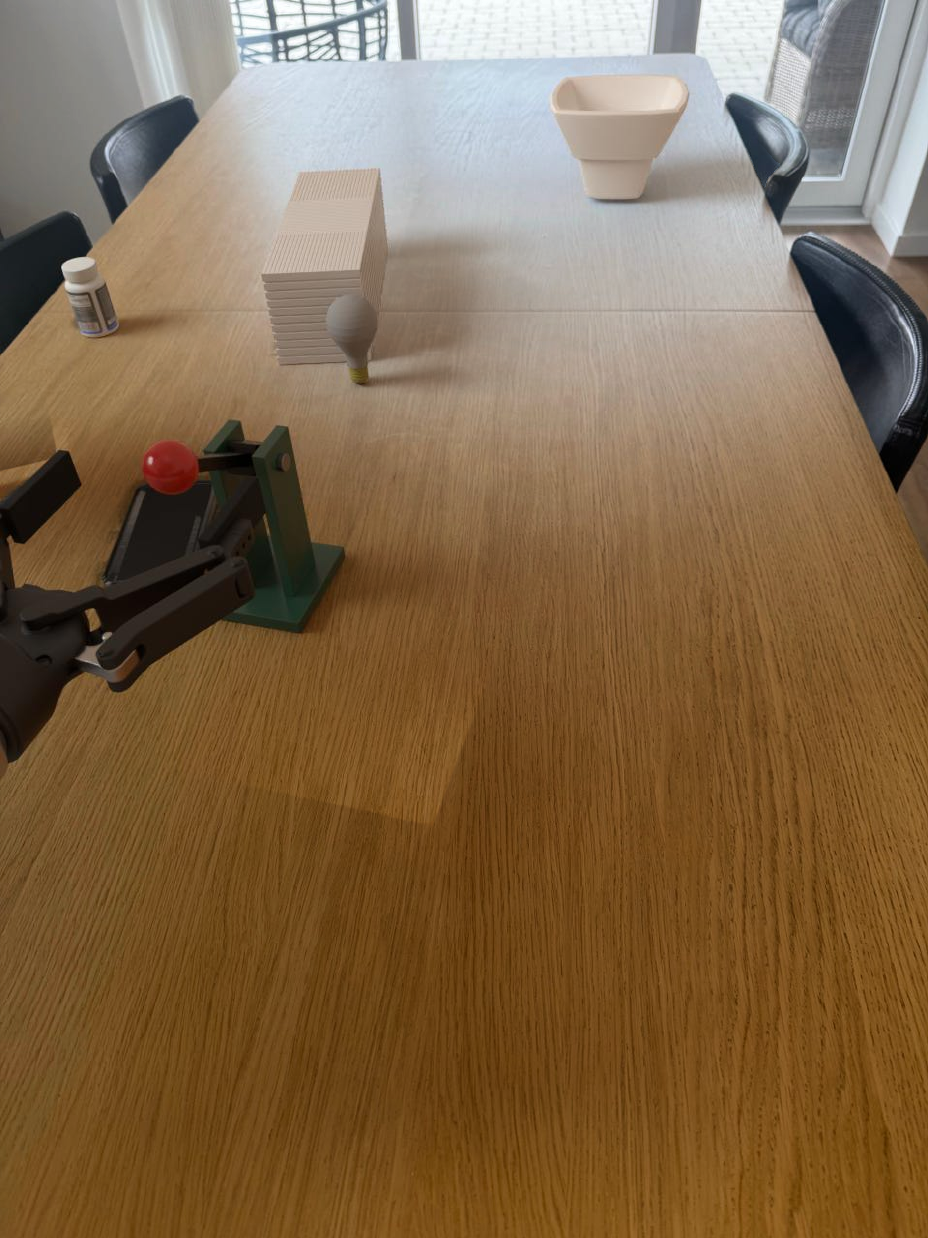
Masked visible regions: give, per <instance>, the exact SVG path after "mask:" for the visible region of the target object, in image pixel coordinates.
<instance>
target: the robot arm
mask: <svg viewBox="0 0 928 1238" xmlns="http://www.w3.org/2000/svg"><path fill="white" fill-rule="evenodd" d="M81 487H83V483H82V481H81V477H80V476H79V473H78V471H77V467H76V466H75V463H74V460H73V457H72V454H71V452H70V450H64V449H58V450H57V451H56V452H55V453H54V454H53V455H52V456H51V457H49V459H47V460H46V461H45V462H44V463H43V465H41V466H40V467H39V468H38V469H37V470H36V471H35V472H34V473H33V474H32V475H31V476H29V477H28V479H27V480H25V481H24V482H23V483H22V484H21V485H18V486H16V487H14V488H12V489H11V490H10V491H8V493H7V494H6V495H5V496H3V498H1V499H0V782H1V781H2V780H3V779H4V778H5V776H7V775H6V774H7V771H8V768H9V764H12V763H15V762H16V761H17V760H19V759H20V758H21V757H22V755H23V754H24V753H25V752H26V750H27V749H28V748H29V746H30V745H31V744H32V743H33V742H34V740H35V739H36V737H38V735H39V734H40V733H41V731H42V730H43V729H44V727H45V726H46V725H47V724H48V722H49V721H50V720H51V718H52V717H53V716H54V714H55V712H56V710H57V709H56V708H57V706H58V703H59V700H60V697H61V694H62V691H63V689H64V688H65V686H66V685H68V684H69V683H70V682H71V681H73V680H74V679H76V678H78V677H79V676H81V675H82V674H84V673H87V674H91V675H94V676H96V677H100V678H103V679H104V680H105V682H106V683H107V685H108V687H109V690H110V691H111V692H112V693H117V694H118V693H123V692H125V691H128V690H129V689H130V688H131V687H132V686H133V685H134V684H135V683H136V682H137V680H138V679H140V677H141V676H142V675H143V674H144V673H145V671H147V669H148V668H149V667H150V666H151V665H153V664H154V663H156V662H158V661H159V660H161V659H162V658H164V657H165V656H167V655H168V654H170V653H172V652H173V651H175V650H176V649H178V648H179V647H181V646H183V645H184V644H185V643H187V642H189V641H190V640H192V639H193V638H195V637H196V636H198V635H199V634H201V633H203V632H204V631H206V630H207V629H209V628H210V627H212V626H213V625H216V623H217V622H220V621H222V620H221V619H223V618H224V617H226V616H227V615H229V614H230V613H232V612H233V611H235V610H236V609H238V608H240V607H241V606H243V605H244V604H246V603H247V602H249V601H250V600H252V599H253V598H254V597H255V590H254V586H253V582H252V578H251V574H250V570H249V567H248V563H247V560H246V559H245V556H246V555H247V553H248V552H249V550H250V549H251V548H252V546H253V545H254V543H255V536H254V532H253V530H254V529H255V527H256V526H257V524H258V523H259V522H260V520H261V519H262V518H264V516H266V515H265V513H266V508H265V504H264V500H263V496H262V491H261V487H260V483H259V478H258V477H255V476H246V478H245V479H244V480H243V481H242V483H241V484H240V485H239V487H238V488H237V489H236V490H235V492H234V493H233V494H232V496H231V497H230V498H229V499H228V501H227V502H226V503H225V505H224V506H223V507H222V508H221V510H220V511H219V510H218V512H217V513H216V514H215V515H214V516H213V520H212V521H211V522H210V524H209V525H208V526H207V528H206V529H205V530H204V531H203V533H202V534H201V535H200V537H199V538H198V543H199V546H200V549H201V550H198V551H196V552H193V553H191V554H188V555H186V556H183V557H181V558H179V559H176V560H174V561H171V562H169V563H166V564H164V565H161V566H159V567H156V568H154V569H151V570H149V571H146V572H144V573H141V574H139V575H136V576H134V577H131V578H129V579H126V580H124V581H121V582H119V583H116V584H114V585H111V586H109V587H106V588H105V587H102V586H100V585H98V584H92V585H89V586H86V587H84V588H82V589H79V590H76V591H74V592H73V591H70V590H63V589H45V588H44V587H41V586H38V585H35V584H30V583H24V584H23V585H22V586H20V587H16V583H15V575H14V574H15V573H14V569H13V568H14V567H13V562H12V555H11V548H10V542H9V540H8V539H9V538H10V537H11V539H12V542H13V543H14V544H20V545H26V544H27V542H28V541H29V540H30V539H31V538H33V536H34V535H35V534H36V533H37V532H38V531H39V530H40V529H41V528H42V526H44V525H45V524H46V523H48V521H49V520H50V519H51V518H52V517H53V516H54V515H55V514H56V513H57V512H58V511H59V509H61V508H62V507H63V505H64V504H66V502H67V501H68V500H69V499H71V497H72V496H73V495H74V494H75V493H76V492H77V491H78V490H79V489H81ZM205 571H206V573H205ZM92 609H93V610H94V611H95V613H96V616H97V618H98V620H99V623H100V625H99V627H97V628H95V629H93V630H91V623H90V620H89V616H88V615H87V613H86V611H89V610H92Z"/></svg>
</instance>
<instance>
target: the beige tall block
mask: <svg viewBox="0 0 928 1238" xmlns="http://www.w3.org/2000/svg"><path fill="white" fill-rule="evenodd" d="M293 185H294V186H293V188H292V190H291V193H290V196H289V199H288V201H287V204H286V207H285V210H284V212H283V216H282V218H281V220H280V223H279V225H278V229H277V231H276V234H275V236H274V239H273V243H272V245H271V247H270V250H269V252H268V255H267V257H266V261H265V263H264V265H263V268H262V271H261V281H262V283H263V290H264V291H265V292H264V295H265V299H266V305H267V308H268V309H267V311H268V314H269V315H268V316H270V317H269V320H270V324H271V330H272V333H273V334H272V335H273V340H274V346H275V348H276V349H275V350H276V351H275V352H276V355H277V361H278V365H298V364H299V365H300V364H301V365H302V364H321V363H323V364H324V363H344V362H346V363H347V358H346V356H345V354H344V353H343V351H342V350H341V349H340V348H339V346H338V345H337V344H336V343H335V342H334V341H333V339H332V338H331V336H330V335H329V332H328V330H327V325H326V316H327V312H328V309H329V307H330V305H331V304H332V303H333V302H334V301H335V300H336V299H337V298H339V297H341V296H344V295H349V294H354V295H359V296H362V297H364V298H365V299H367V300H368V301H369V302H370V303H371V304H372V306H373V307H374V309H375V311H376V313H377V319H378V318H379V311H380V305H381V300H382V299H381V298H382V293H383V285H384V280H385V279H384V278H385V272H386V265H387V260H388V254H389V243H388V236H387V235H388V234H387V224H386V223H387V222H386V215H385V207H384V199H383V198H384V195H383V186H382V176H381V168H380V167H379V168H378V167H376V168H357V169H355V168H354V169H336V170H318V171H299V172H298V175H297V177H296V180H295V183H294V184H293ZM375 339H376V336H375V337H374V339H373V341H372V343H371V345H370V348H369V350H368V354H367V358H368V362H369V361H372V359H373V351H374V346H375Z"/></svg>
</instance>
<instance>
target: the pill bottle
mask: <svg viewBox="0 0 928 1238" xmlns="http://www.w3.org/2000/svg"><path fill="white" fill-rule="evenodd" d="M60 267H61V271H62V275H63V278H64V280H65V282H64V290H65V292H66V296H67V298H68V301H69V304H70V307H71V309H72V312H73V315H74V319H75V321H76V324H77V326H78V330H79V332H80V334H81V335H82V336H84V337H87V338H91V339H92V338H93V339H95V338H102V337H105V336H109V335H111V334H113V333H115V332H116V331H117V330H118V328H119V327H120V323H119V319H118V316H117V314H116V310H115V307H114V304H113V301H112V297H111V295H110V292H109V289H108V285H107V281H106V279H105V277H104V276H103V275H102V274H101V273H100V271H99V267H98V265H97V262H96V259H94V258H93V257H88V256H81V257H75V258H71V259H68V260H66V261H65V262H63V263H62V264H61V266H60Z"/></svg>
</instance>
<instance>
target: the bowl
mask: <svg viewBox="0 0 928 1238" xmlns="http://www.w3.org/2000/svg"><path fill="white" fill-rule="evenodd" d="M690 95H691V93H690V91H689V88H688V85H687V83H686V82H685V81H684V80H683V79H682V78H681V77H680V76H679V75H672V74H670V75H669V74H656V73H655V74H653V73H652V74H592V75H591V74H589V75H578V76H576V75H575V76H566V77H565V78H563V79H562V80H561V81H559V82H558V83H557V84H556V85H555V87H554V88H553V90H552V92H551V93H550V96H549V97H550V98H549V99H550V100H549V107H550V111H551V114H552V115H553V117H554V120H555V122H556V124H557V126H558V128H559V131H560V133H561V135H562V137H563V139H564V142H565V143H566V145H567V148H568V149H569V153H570V154H571V156H572V158H573V159H577V161H578V165H579V171H580V174H581V179H582V185H583V189H584V193H585V195H586V197H587V198H588V199H595V200H633V199H635V200H636V199H639V198H640V197H641V196H642V194H643V192H644V189H645V186H646V184H647V180H648V177H649V174H650V170H651V168H652V164H653V162H654V159H657V158H658V157H659V156H660V154H661V153H662V152H663V150H664V148H665V146H666V144H667V143H668V141H669V140H670V137H671V136H672V134H673V132H674V130H675V129H676V127H677V125H678V123H679V121H680V119H681V118H682V116H683V114H684V113H685V111H686V109H687V107H688V103H689V100H690Z"/></svg>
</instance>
